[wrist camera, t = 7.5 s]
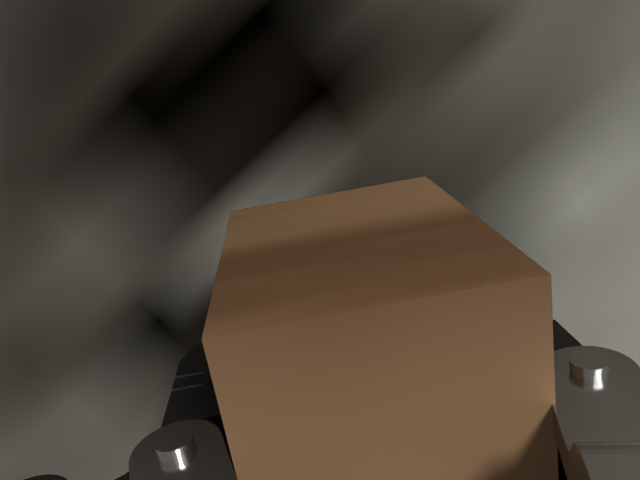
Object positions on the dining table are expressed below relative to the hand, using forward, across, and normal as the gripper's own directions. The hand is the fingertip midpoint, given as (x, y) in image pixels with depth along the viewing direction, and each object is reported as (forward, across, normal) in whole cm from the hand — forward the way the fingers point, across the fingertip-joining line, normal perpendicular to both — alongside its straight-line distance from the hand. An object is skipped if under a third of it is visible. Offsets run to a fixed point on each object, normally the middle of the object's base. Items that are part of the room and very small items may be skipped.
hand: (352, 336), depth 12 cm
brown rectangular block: (+1, 0, +3) cm, 3 cm away
